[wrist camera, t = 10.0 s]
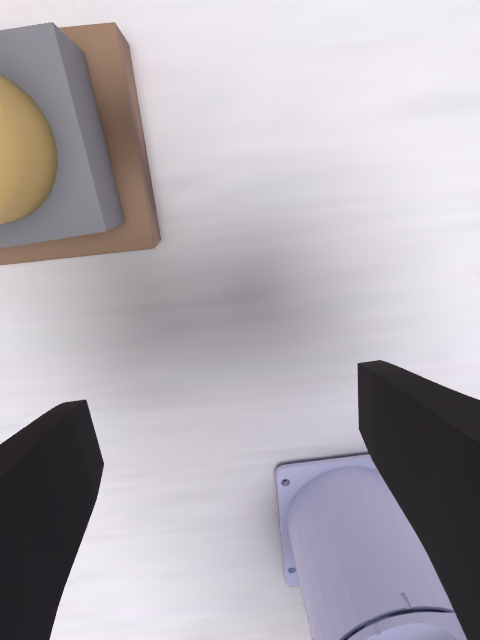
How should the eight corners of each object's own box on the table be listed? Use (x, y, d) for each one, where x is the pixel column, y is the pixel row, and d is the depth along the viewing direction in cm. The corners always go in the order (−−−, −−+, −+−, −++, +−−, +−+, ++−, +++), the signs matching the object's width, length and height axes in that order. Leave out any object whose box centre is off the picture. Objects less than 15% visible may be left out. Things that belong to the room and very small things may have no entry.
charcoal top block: (125, 222, 17) (106, 231, 14) (-21, 245, 17) (-70, 259, 14) (84, 52, 15) (52, 22, 12) (-82, 79, 15) (-154, 55, 12)
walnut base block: (161, 238, 20) (153, 248, 17) (-4, 256, 20) (-40, 269, 17) (130, 47, 17) (114, 22, 14) (-61, 66, 17) (-116, 44, 14)
